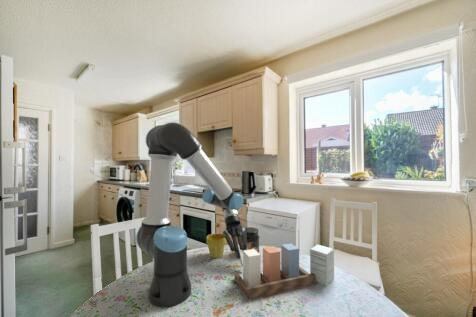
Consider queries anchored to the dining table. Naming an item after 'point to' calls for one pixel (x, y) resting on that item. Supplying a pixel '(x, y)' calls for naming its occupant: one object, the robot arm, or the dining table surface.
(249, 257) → the ivory key
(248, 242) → the supplement container
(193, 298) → the dining table surface
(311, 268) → the supplement box
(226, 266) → the dining table surface
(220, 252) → the plant pot
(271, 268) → the pink rectangular block
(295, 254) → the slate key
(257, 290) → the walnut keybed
